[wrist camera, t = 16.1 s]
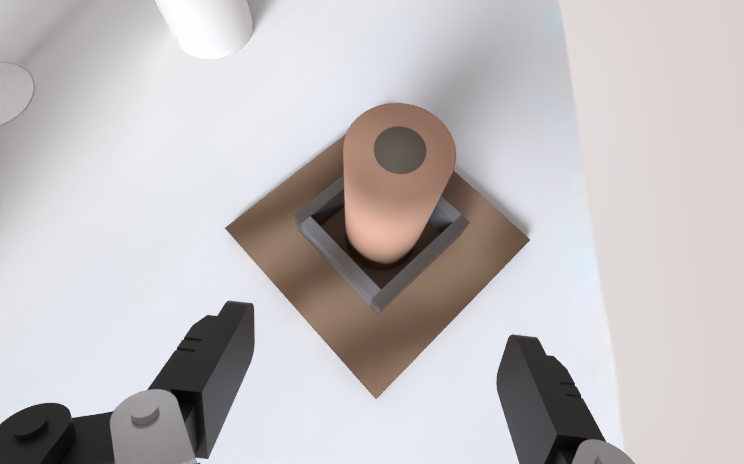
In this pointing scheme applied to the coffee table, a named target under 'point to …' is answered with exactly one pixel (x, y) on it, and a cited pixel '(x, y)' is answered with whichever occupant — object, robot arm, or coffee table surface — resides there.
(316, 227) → the holder
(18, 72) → the champagne flute
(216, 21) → the cylindrical container
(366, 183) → the roll
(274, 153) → the coffee table surface
